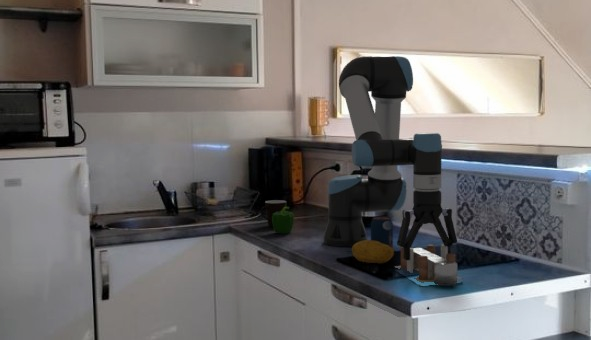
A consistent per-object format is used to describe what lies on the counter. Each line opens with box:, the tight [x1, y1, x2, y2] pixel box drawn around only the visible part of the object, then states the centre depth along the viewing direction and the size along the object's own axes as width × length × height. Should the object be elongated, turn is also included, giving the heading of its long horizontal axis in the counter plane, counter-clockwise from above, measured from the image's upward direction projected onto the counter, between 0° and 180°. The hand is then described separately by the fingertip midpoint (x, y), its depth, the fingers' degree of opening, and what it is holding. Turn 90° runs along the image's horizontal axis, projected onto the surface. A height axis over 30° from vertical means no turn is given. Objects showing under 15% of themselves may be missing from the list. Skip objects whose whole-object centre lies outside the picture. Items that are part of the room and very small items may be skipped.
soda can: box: [370, 215, 394, 250], centre depth 205 cm, size 7×7×12 cm
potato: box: [351, 239, 395, 264], centre depth 194 cm, size 8×14×7 cm, turn 43°
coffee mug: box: [260, 199, 287, 229], centre depth 259 cm, size 12×9×10 cm
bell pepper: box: [272, 206, 295, 235], centre depth 244 cm, size 8×8×10 cm
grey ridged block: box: [411, 247, 458, 286], centre depth 175 cm, size 22×6×5 cm, turn 14°
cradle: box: [394, 244, 463, 283], centre depth 177 cm, size 18×12×7 cm, turn 14°
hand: (427, 270), depth 178 cm, fingers open, 9 cm apart
